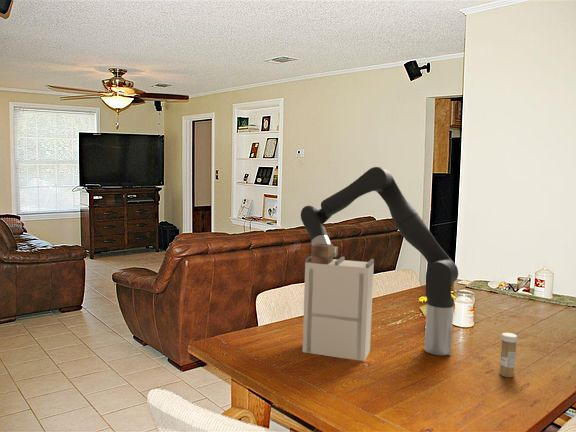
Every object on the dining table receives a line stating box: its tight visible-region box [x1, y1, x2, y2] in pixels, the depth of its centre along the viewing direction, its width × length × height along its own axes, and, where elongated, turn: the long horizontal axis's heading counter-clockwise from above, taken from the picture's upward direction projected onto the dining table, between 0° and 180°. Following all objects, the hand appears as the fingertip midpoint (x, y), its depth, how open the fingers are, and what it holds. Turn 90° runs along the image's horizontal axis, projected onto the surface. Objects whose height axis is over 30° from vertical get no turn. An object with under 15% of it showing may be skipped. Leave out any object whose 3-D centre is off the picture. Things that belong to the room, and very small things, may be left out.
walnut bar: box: [310, 243, 339, 264], centre depth 185 cm, size 6×22×6 cm, turn 162°
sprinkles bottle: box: [498, 332, 518, 378], centre depth 164 cm, size 5×5×14 cm
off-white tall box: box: [302, 255, 375, 362], centre depth 180 cm, size 22×11×33 cm, turn 72°
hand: (334, 285), depth 190 cm, fingers open, 8 cm apart
